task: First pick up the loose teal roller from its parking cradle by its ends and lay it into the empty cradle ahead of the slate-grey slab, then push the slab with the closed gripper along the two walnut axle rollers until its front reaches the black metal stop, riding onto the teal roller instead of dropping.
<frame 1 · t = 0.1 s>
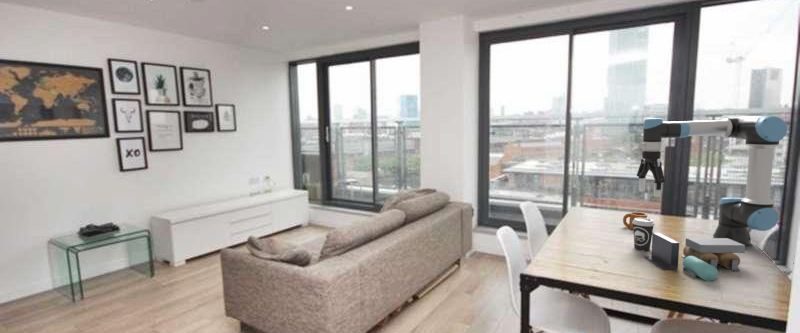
hand: (649, 193, 193), 28 cm above the table, fingers open, 13 cm apart
coffee cup: (641, 249, 197), on the table
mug: (634, 228, 233), on the table
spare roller: (699, 275, 163), on the table
roller rear: (720, 256, 174), point 4 cm above the table, hinge at -0.1°, touching slab
slab: (713, 249, 174), point 7 cm above the table, touching roller front, roller rear
roller front: (700, 256, 175), point 4 cm above the table, hinge at -0.1°, touching slab
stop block: (663, 263, 177), on the table
roller bed: (698, 263, 176), on the table
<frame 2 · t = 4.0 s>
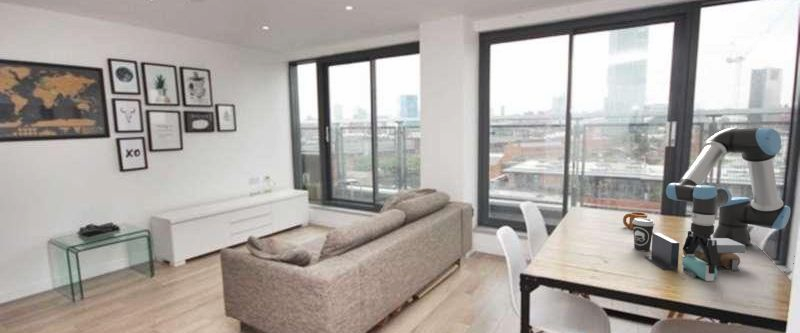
hand: (698, 274, 163), 0 cm above the table, fingers closed on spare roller, 11 cm apart
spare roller: (699, 275, 163), on the table, touching gripper
roller rear: (720, 256, 174), point 4 cm above the table, hinge at -1.3°, touching slab
roller front: (700, 256, 175), point 4 cm above the table, hinge at -0.8°, touching slab
everything else where it was.
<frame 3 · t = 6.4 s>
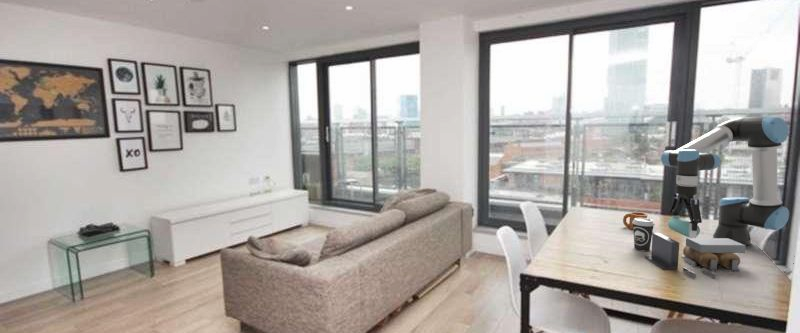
hand: (683, 233, 174), 14 cm above the table, fingers closed on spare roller, 11 cm apart
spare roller: (683, 234, 174), point 14 cm above the table, touching gripper
roller rear: (720, 256, 174), point 4 cm above the table, hinge at -2.1°, touching slab
roller front: (700, 256, 175), point 4 cm above the table, hinge at -1.4°, touching slab
everything else where it was.
when the fingers open (1 cm above the table, at t = 8.9 s): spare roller drops 1 cm, on the table.
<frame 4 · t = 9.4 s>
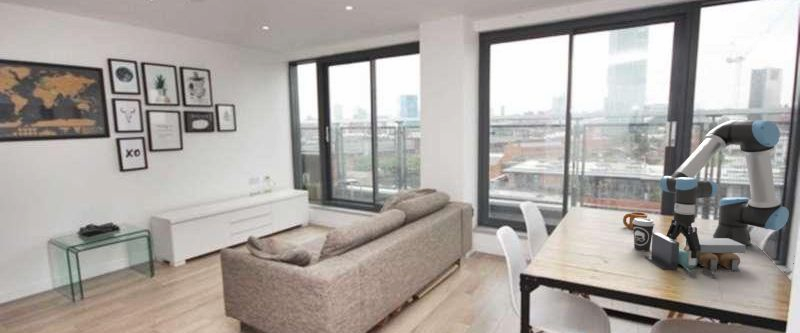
hand: (681, 259, 176), 2 cm above the table, fingers open, 13 cm apart
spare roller: (681, 264, 176), on the table
roller rear: (720, 256, 174), point 4 cm above the table, hinge at -3.2°, touching slab
roller front: (700, 256, 175), point 4 cm above the table, hinge at -2.0°, touching slab
everything else where it was.
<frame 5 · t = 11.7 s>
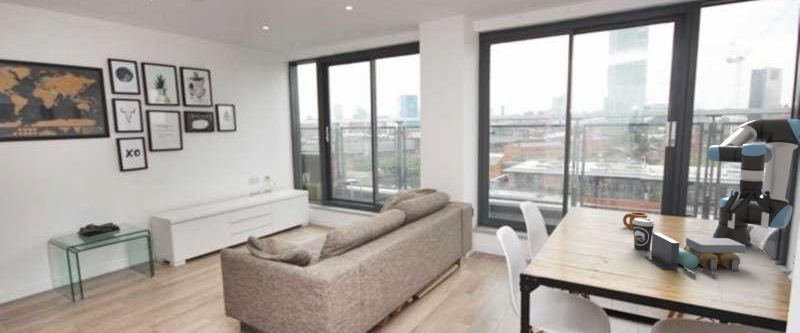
hand: (747, 227, 172), 16 cm above the table, fingers open, 13 cm apart
roller rear: (720, 256, 174), point 4 cm above the table, hinge at -4.1°, touching slab
roller front: (700, 256, 175), point 4 cm above the table, hinge at -2.6°, touching slab
everything else where it was.
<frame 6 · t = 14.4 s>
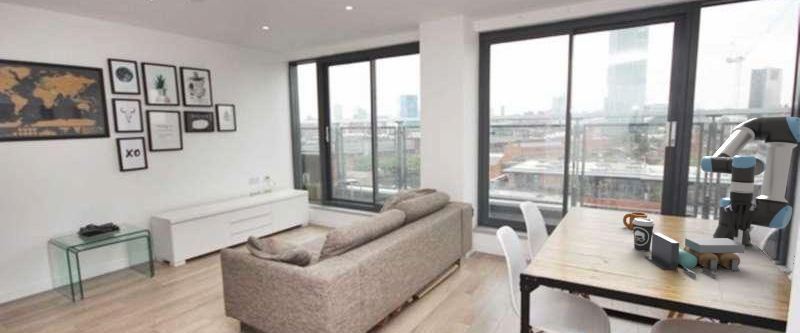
hand: (737, 244, 173), 9 cm above the table, fingers closed
roller rear: (720, 256, 174), point 4 cm above the table, hinge at -5.1°, touching slab
slab: (713, 249, 174), point 7 cm above the table, touching gripper, roller front, roller rear
roller front: (700, 256, 175), point 4 cm above the table, hinge at -3.3°, touching slab
everything else where it was.
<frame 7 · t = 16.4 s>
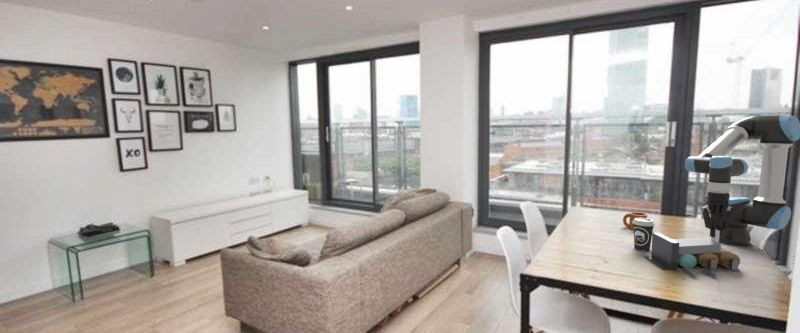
hand: (714, 244, 174), 9 cm above the table, fingers closed
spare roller: (683, 263, 176), on the table, tilted 25°, touching slab
roller rear: (720, 256, 174), point 4 cm above the table, hinge at -5.1°
slab: (691, 249, 175), point 7 cm above the table, touching roller front, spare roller
everything else where it was.
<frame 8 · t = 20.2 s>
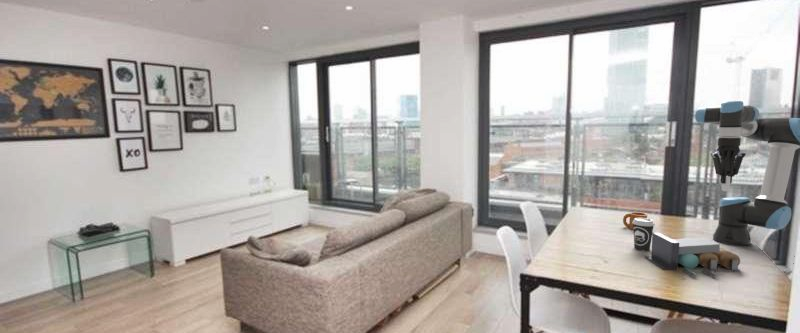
hand: (725, 190, 174), 32 cm above the table, fingers closed
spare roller: (687, 262, 176), point 1 cm above the table, tilted 42°, touching slab
roller front: (700, 256, 175), point 4 cm above the table, hinge at 0.3°, touching slab
everything else where it was.
at the end: slab inside the target area (0.7 cm from its centre), point 6.5 cm above the table; slab tilted 4°; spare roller inside the target area under the slab (3.2 cm from its centre), point -5.8 cm above the slab's base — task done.
